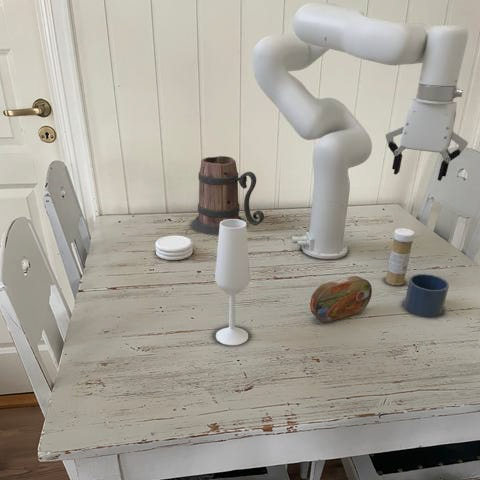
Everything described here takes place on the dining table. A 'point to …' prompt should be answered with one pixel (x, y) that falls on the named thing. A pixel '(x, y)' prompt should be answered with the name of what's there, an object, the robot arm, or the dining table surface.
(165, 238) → the white round stack
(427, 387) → the dining table surface
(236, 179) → the tankard
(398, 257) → the sprinkles bottle
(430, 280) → the cup
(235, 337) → the champagne flute
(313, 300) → the tin
